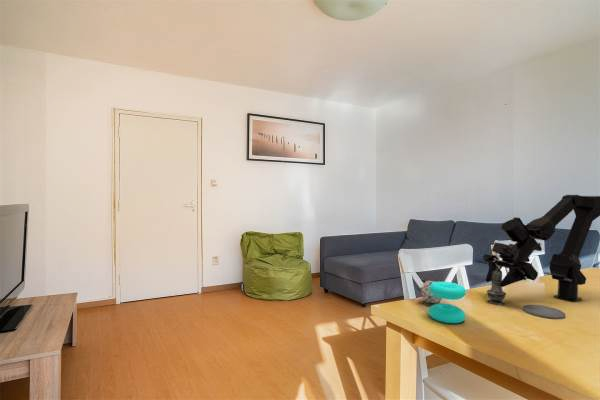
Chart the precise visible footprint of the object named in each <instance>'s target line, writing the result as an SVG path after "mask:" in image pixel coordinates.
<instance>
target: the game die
mask: <svg viewBox="0 0 600 400" xmlns="http://www.w3.org/2000/svg"><path fill="white" fill-rule="evenodd" d="M424 281H425V282H424V283H423V285H421V287H419V288H417V290H419V291H420V293H421V296H422V299H423V301H422V304H425V303H430V304H431V303H432V304H440V302H441V301H442V298H439V297H436V296H435V295H433V294H432V293H431V292H430V290H429V286H430V284H432V283H434V282H435V281H434V280H428V279H427V278H425V280H424ZM439 282H443V281H442V280H440V281H439Z"/></svg>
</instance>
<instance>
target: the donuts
mask: <svg viewBox="0 0 600 400" xmlns="http://www.w3.org/2000/svg"><path fill="white" fill-rule="evenodd" d="M429 290H430V292H431V293H432V294H433V295H435V296H436V297H439V298H442V299H444V300H449V301H450V300H451V301H453V300H454V301H456V300H460V299H462V298H465V296H466V294H467V290H466V288H465V286H462V285H461V284H459V283H455V282H450V281H442V282H440V281H434V283H432V284H430V286H429ZM442 299H441V300H442ZM428 314H429V316H430V317H431V318H432V319H434V320H435V321H438V322H440V323H445V324H459V323H462V322H464V321H465V319H466V313H465V311H464V310H463V309H462V308H460V307H459V306H456V305H454V304H450V303H443V302H442V303H440V302H439V304H435V303H433V304H432V305H430V306H429V308H428Z"/></svg>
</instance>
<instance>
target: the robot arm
mask: <svg viewBox="0 0 600 400" xmlns="http://www.w3.org/2000/svg"><path fill="white" fill-rule="evenodd" d="M571 212H574V214H575V218H574V220H573V223H572V226H571V227H570V230H569V233H568V235H567V238H566V240H565V243H564V245H563V248H562V251H560V252H559V253H558V254H557V253H553V254H552V256H551V259H550V261H549V262H548V263H549V267H548V268H549V271H550V275H551V279H552V280H557V294H553V297H554V298H557V299H561V300H566V301H570V302H578V301H580V300H582V299H583V297H579V296H578V295H579V285H580V286H583V285H585V284H586V282H587V277H586V276H585V275H584V273H583V272H582V271H581V268H582V263H581V260H580V258H579V257H580V256H581V252H582V250H583V247H584V245H585V242H586V240H587V237H588V234H589V231H590V229H591V227H592V224H593V222H594V221H595V220H596V219H598V217H600V195H579V194H566V195H563V196H562V198H561V199H560V200H559V201H558V202H557V203H556V204H554V206H553V207H552V208H550V209H549V210H548V211H547V212H546V213H545V214H544V215H543V216H541V217H538V218H536V219H533V220H531V221H530V222H528V223H526V225H525V223H523V221H522V219H521V218H520V217H513V218H511V219H509V220H507V221H505V222H503V224H501V227H500V228H501V230H502V231H503V232H504V234H505V235H506V236H507V238H508V239H509V240H510V241H511V242H515V243H514V244H513V243H509V244H505V243H501V242H494V244H493V246H492V249H491V251H492V252H493V253H496V254H498V256H497V255H495V254H491V253H485V254H484V255H483V256H482V257H481V258H482V260H483V261H484V262H485V263H486V264H487V266H488V272H487V273H486V277H485V281H486V283H489V282H492V281H491V280H492V272H493V271H495V270H497V268H498V270H499V271H500V272H501V273H502V274H503V272H502V270H501V269H502V268H506V269H508V272H507V273H506V275H505V276H504V278H502V281H501V283H500V286H501V287H502V288H504V287H507V286H509V285H512V284H514V283H517V282H520V281H526V280H530V281H531V280H532V281H535V280H536V279H537V278H538V277H539V272H538V270H536V268H535V267H534V266H533V264H531V263H530V261H531V259H530V257H531V255H532V254H533V253H534V251H537V252H541V251H542V250H543V248H542V245H541V243H540V242H538V240H539V241H549V239H551V237H553V235H554V234H555V232H556V227H557V226H558V224H559V223H561V221H563V220H564V219H565V218H566V217H567V216H568V215H569V214H570V213H571ZM498 257H499V258H498Z"/></svg>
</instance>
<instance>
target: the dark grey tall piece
mask: <svg viewBox="0 0 600 400" xmlns="http://www.w3.org/2000/svg"><path fill="white" fill-rule="evenodd" d="M501 272H502V271H501ZM501 272H500V271H499V270H498V268H497V270H495V271H493V272H492V280H491V281H490V282H491V287H490V289H488V290H486V293H487V296H488V297H489V299H488V300H487V301H486V302H487V303H489V304H491V305H496V306H505V305H506V303H505V302H504V301H503V300H504V299H505V298H506V296H507V292H505V291H504V290H503V287H501V286H500V283H501V281H502V280H503V272H502V273H501Z"/></svg>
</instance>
